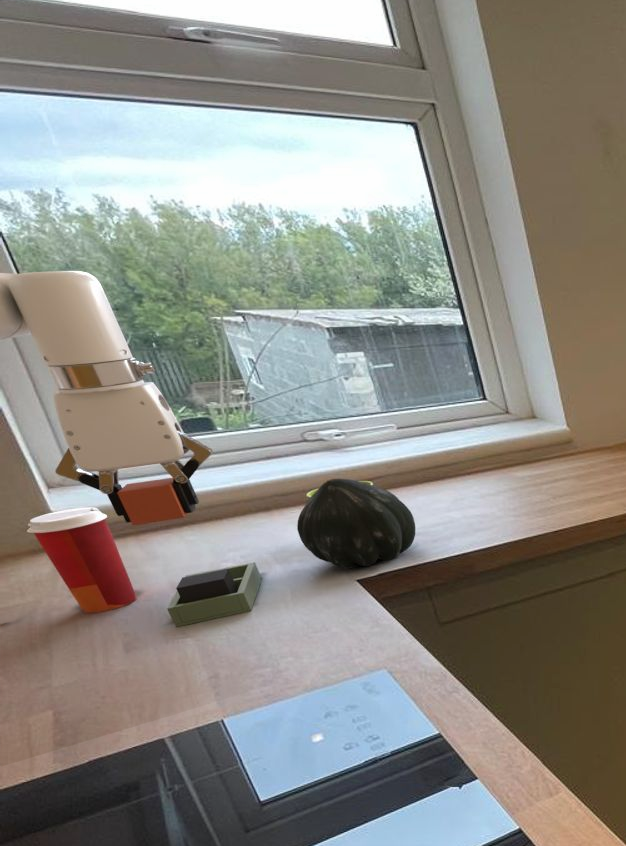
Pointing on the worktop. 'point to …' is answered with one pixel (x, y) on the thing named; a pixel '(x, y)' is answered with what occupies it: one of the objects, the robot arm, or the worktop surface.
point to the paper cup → (85, 557)
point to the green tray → (219, 598)
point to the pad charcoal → (206, 586)
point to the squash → (355, 524)
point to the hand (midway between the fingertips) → (161, 513)
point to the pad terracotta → (151, 501)
